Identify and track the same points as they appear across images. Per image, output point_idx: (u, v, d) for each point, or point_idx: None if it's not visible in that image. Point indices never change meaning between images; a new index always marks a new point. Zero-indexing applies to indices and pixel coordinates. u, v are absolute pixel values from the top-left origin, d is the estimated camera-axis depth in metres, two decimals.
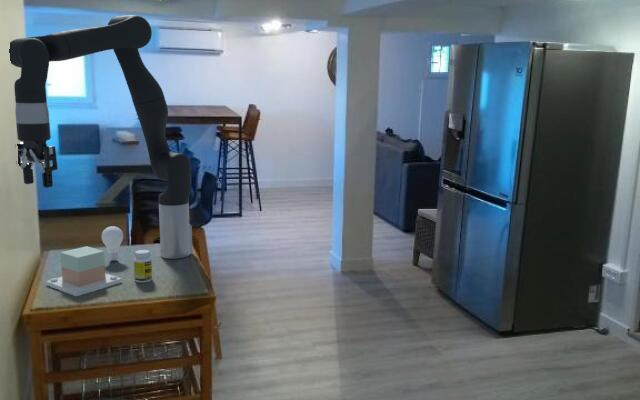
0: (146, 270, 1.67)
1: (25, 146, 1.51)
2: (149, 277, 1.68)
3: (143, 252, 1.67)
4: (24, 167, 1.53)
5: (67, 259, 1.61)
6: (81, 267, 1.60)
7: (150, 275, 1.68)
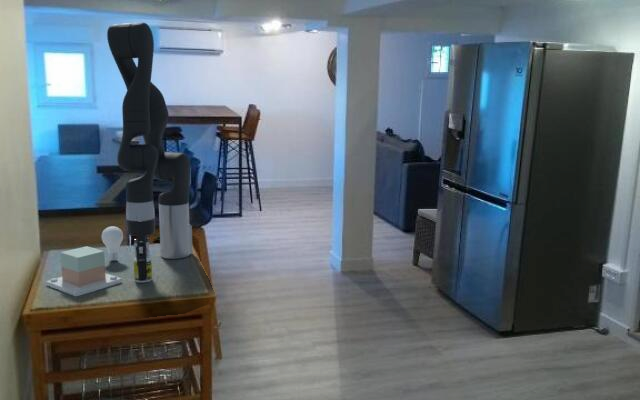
0: None
1: (145, 240, 1.65)
2: (149, 277, 1.68)
3: None
4: None
5: (67, 259, 1.61)
6: (81, 267, 1.60)
7: (150, 275, 1.68)
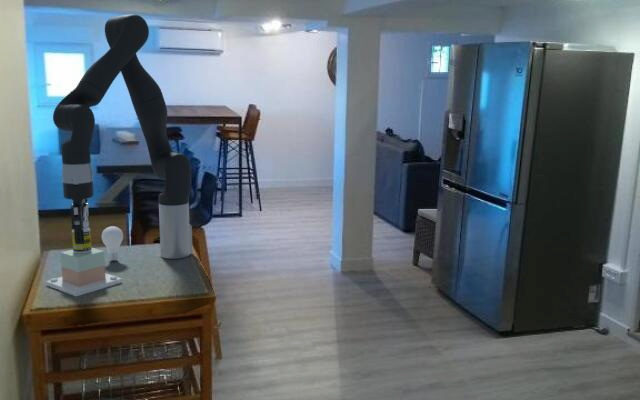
0: (84, 240, 1.61)
1: (82, 204, 1.59)
2: (88, 248, 1.63)
3: None
4: None
5: (67, 259, 1.61)
6: (81, 267, 1.60)
7: (89, 246, 1.63)
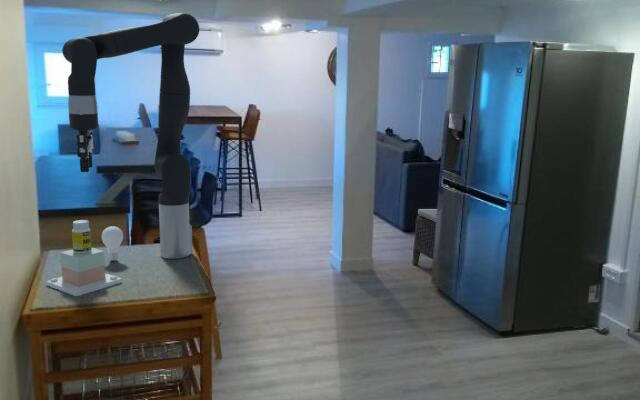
0: (84, 240, 1.61)
1: (87, 135, 1.67)
2: (88, 248, 1.63)
3: (81, 222, 1.61)
4: None
5: (67, 259, 1.61)
6: (81, 267, 1.60)
7: (89, 246, 1.63)
